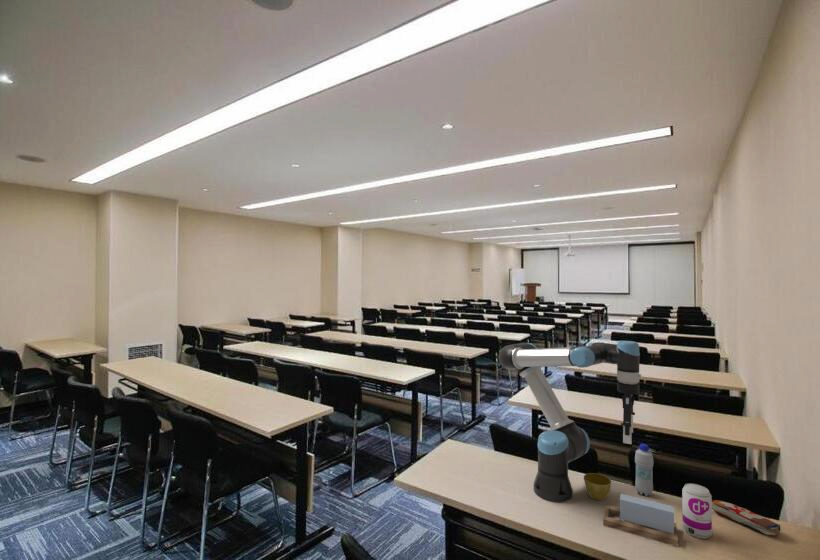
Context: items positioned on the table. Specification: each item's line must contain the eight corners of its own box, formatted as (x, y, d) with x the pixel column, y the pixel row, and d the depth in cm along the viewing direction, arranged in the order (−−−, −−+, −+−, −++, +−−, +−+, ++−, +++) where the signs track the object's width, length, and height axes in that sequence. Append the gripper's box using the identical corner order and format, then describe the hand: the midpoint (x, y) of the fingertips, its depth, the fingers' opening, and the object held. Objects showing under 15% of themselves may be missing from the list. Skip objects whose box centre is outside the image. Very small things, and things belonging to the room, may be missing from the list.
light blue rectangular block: (619, 524, 141) (619, 499, 141) (620, 518, 145) (620, 493, 145) (673, 539, 133) (673, 512, 133) (673, 532, 137) (673, 506, 137)
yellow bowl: (578, 493, 163) (578, 475, 163) (596, 488, 166) (596, 471, 166) (598, 505, 153) (598, 487, 153) (617, 500, 157) (617, 482, 157)
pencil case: (727, 506, 153) (727, 493, 153) (787, 537, 135) (787, 523, 135) (705, 510, 151) (705, 497, 151) (764, 543, 132) (764, 528, 132)
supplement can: (713, 542, 131) (713, 497, 132) (683, 534, 136) (682, 490, 136) (710, 529, 138) (710, 486, 139) (681, 522, 143) (681, 480, 143)
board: (603, 524, 141) (603, 519, 141) (606, 509, 150) (606, 504, 150) (678, 546, 130) (677, 540, 130) (676, 528, 139) (676, 523, 139)
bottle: (656, 498, 159) (656, 448, 159) (638, 496, 160) (638, 446, 160) (649, 489, 165) (649, 441, 165) (632, 488, 166) (632, 440, 167)
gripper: (638, 390, 140) (638, 451, 140) (640, 376, 161) (640, 428, 161) (614, 387, 144) (614, 446, 144) (619, 374, 165) (619, 425, 165)
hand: (628, 437), depth 152 cm, fingers open, 13 cm apart
